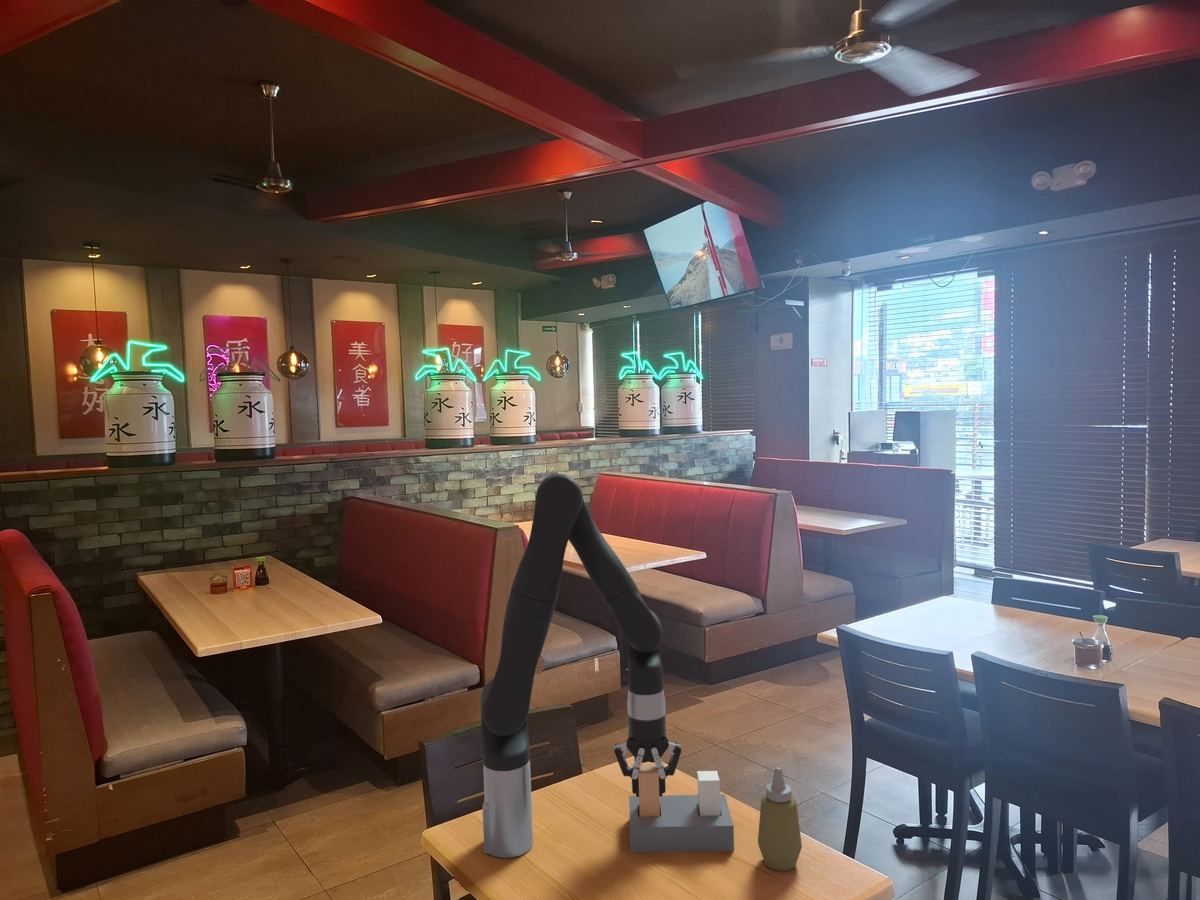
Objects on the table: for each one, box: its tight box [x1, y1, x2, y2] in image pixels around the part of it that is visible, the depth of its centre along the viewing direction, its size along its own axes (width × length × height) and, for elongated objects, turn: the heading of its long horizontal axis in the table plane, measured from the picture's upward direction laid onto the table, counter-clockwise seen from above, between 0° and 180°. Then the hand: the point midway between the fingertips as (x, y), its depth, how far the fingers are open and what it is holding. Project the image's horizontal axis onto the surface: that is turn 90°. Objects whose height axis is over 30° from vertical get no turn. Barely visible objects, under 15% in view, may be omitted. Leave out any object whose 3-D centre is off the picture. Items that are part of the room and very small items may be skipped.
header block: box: [628, 793, 735, 853], centre depth 153 cm, size 20×12×5 cm, turn 89°
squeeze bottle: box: [757, 767, 803, 872], centre depth 142 cm, size 8×8×18 cm
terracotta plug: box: [638, 763, 660, 817], centre depth 153 cm, size 4×4×12 cm
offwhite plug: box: [696, 770, 721, 816], centre depth 152 cm, size 4×4×12 cm
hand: (649, 794), depth 153 cm, fingers closed on terracotta plug, 4 cm apart
